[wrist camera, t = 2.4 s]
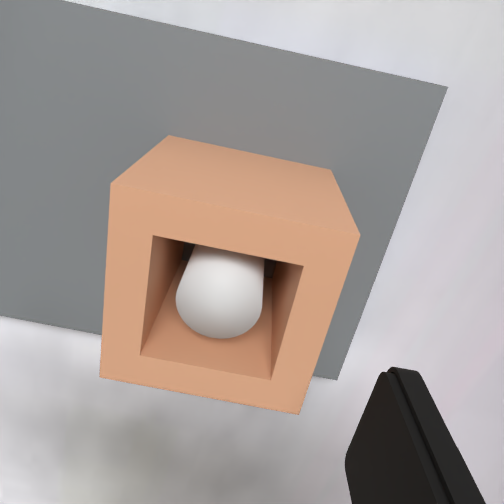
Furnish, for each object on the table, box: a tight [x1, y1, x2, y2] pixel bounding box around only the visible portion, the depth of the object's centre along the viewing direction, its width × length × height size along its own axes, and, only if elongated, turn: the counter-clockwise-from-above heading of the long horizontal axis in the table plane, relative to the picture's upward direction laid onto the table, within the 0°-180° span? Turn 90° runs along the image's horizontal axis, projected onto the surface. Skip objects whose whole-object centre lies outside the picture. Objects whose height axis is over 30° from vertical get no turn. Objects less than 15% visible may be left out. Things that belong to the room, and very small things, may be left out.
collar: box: [100, 135, 360, 415], centre depth 14 cm, size 6×6×6 cm
